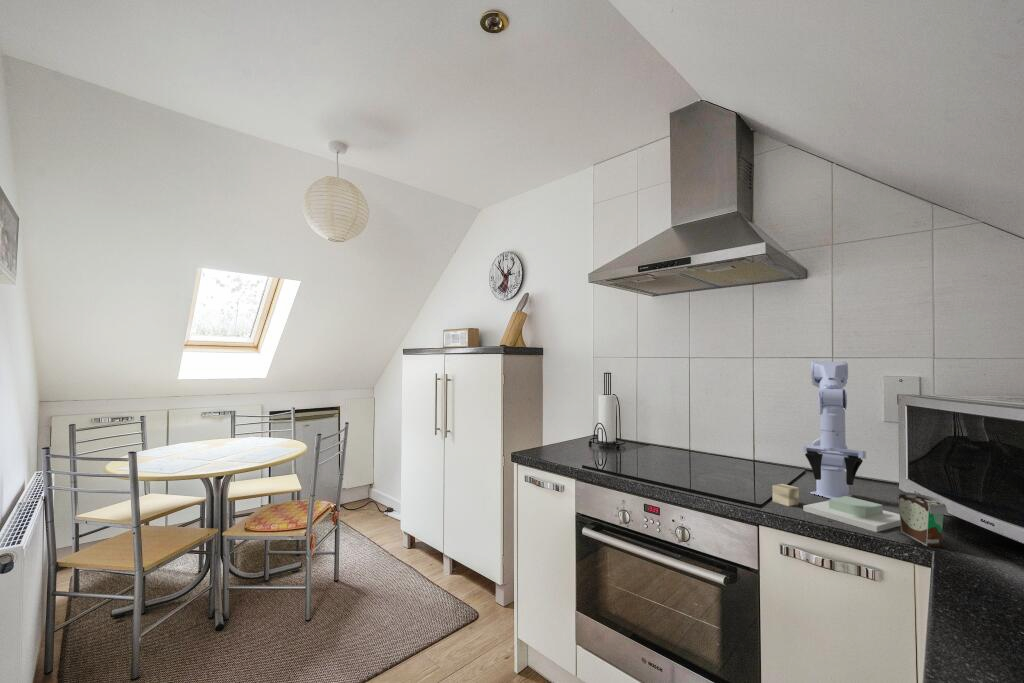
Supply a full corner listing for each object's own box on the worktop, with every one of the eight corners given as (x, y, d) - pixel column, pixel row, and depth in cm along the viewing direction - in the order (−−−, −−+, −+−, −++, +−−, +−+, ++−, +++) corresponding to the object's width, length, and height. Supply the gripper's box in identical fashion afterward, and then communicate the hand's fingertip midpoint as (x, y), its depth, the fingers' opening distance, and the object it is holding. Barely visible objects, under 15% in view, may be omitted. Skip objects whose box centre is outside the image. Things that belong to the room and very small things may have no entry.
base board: (838, 503, 138) (837, 490, 138) (911, 522, 122) (910, 507, 122) (803, 510, 130) (803, 496, 130) (876, 532, 114) (876, 516, 114)
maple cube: (782, 499, 141) (782, 483, 141) (798, 504, 136) (798, 487, 137) (772, 501, 138) (772, 485, 139) (788, 506, 134) (788, 489, 134)
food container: (962, 551, 103) (961, 507, 103) (931, 548, 104) (930, 504, 104) (925, 532, 115) (924, 492, 115) (897, 529, 116) (896, 490, 117)
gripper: (797, 428, 129) (797, 477, 127) (857, 433, 117) (858, 487, 115) (809, 430, 133) (809, 477, 130) (868, 434, 120) (870, 487, 118)
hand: (833, 482), depth 123 cm, fingers open, 7 cm apart
